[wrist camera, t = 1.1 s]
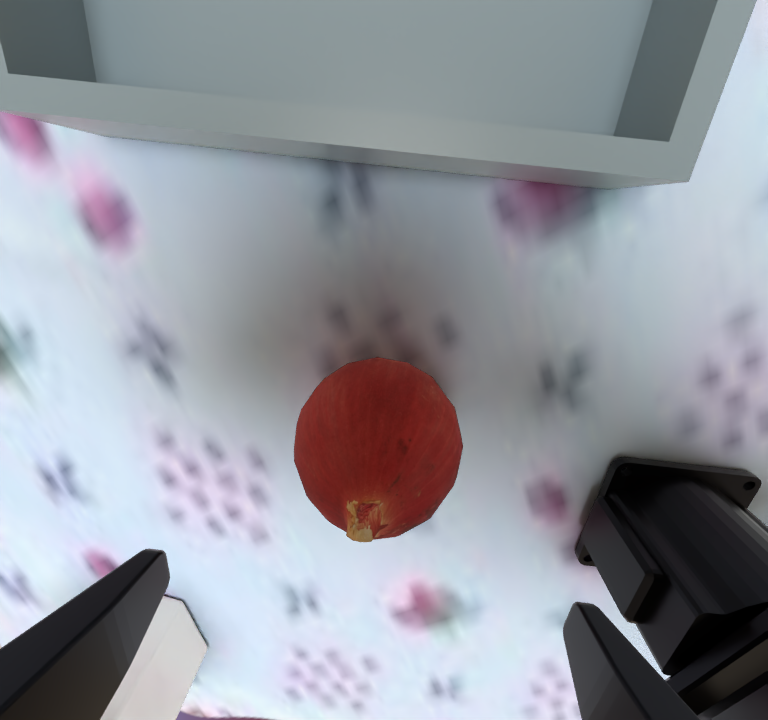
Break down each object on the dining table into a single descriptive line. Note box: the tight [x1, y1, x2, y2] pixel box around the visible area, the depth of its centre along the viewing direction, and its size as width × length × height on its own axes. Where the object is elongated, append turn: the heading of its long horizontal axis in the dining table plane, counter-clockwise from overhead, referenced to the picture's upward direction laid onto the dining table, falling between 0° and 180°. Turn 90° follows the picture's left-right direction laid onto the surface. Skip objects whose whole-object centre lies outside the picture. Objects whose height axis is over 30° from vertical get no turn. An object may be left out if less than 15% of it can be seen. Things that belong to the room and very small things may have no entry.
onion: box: [294, 357, 463, 542], centre depth 13 cm, size 6×6×8 cm
